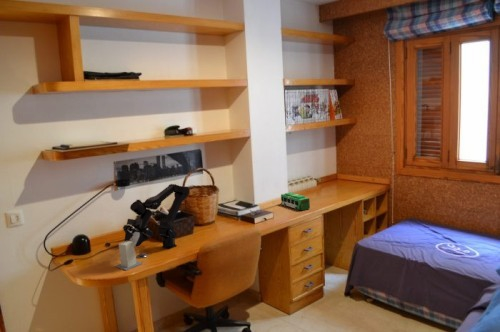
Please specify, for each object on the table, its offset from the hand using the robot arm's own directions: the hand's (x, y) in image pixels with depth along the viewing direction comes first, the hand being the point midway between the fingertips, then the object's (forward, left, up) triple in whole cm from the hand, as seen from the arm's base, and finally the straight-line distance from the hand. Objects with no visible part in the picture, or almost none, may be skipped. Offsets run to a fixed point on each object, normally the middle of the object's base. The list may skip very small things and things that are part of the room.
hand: (130, 245), depth 215 cm
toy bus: (-135, +16, -11) cm, 136 cm away
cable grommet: (-9, -5, -10) cm, 15 cm away
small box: (-19, -27, -11) cm, 35 cm away
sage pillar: (+3, 0, -10) cm, 10 cm away
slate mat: (+3, 0, -10) cm, 11 cm away
